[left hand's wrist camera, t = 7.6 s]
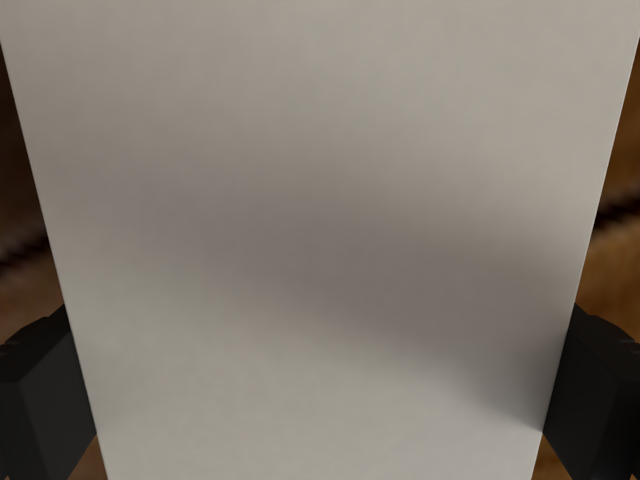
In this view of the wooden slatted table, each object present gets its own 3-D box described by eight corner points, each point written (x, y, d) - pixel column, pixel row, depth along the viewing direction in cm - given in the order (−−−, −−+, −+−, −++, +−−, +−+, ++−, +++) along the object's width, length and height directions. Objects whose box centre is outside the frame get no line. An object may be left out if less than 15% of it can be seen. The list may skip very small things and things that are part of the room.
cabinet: (157, -156, 13) (-173, -650, 4) (480, -155, 13) (809, -644, 4) (208, 319, 19) (116, 516, 10) (429, 319, 19) (523, 515, 10)
